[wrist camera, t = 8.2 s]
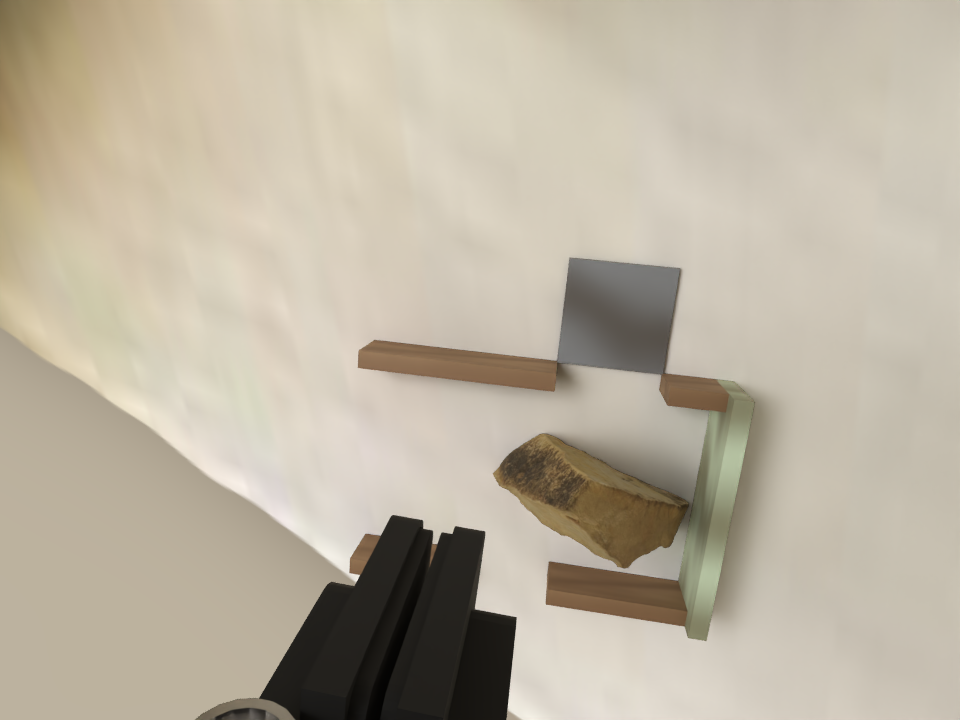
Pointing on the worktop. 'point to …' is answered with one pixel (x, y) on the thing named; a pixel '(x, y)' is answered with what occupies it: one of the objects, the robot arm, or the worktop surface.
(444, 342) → the worktop surface
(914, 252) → the worktop surface
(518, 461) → the rock
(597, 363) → the box
